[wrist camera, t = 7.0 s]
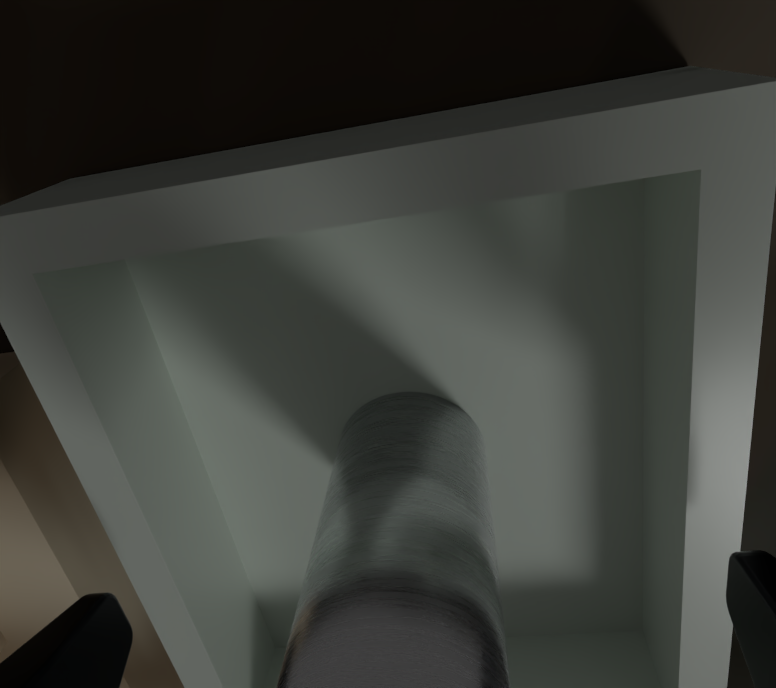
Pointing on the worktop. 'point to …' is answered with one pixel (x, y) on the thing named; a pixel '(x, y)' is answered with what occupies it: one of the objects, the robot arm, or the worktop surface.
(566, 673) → the tray
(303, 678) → the lock pin
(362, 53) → the worktop surface
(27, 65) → the worktop surface
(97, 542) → the block
